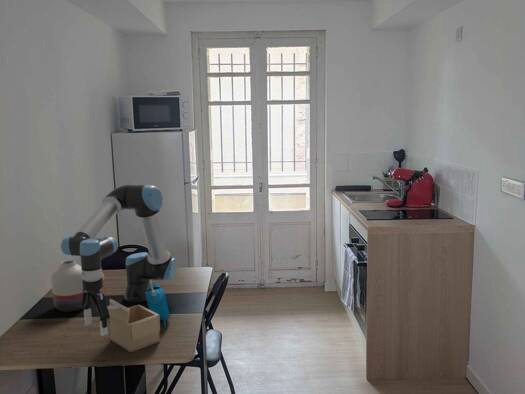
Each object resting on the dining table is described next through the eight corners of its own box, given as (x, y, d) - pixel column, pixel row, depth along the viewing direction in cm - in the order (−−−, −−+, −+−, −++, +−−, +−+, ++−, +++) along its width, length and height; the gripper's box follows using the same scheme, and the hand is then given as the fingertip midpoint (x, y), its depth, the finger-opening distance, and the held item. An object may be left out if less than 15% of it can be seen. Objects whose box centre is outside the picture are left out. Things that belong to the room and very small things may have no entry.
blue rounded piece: (171, 327, 232) (169, 285, 228) (148, 330, 229) (145, 287, 225) (168, 313, 247) (166, 273, 244) (146, 315, 245) (144, 275, 241)
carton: (110, 339, 220) (108, 313, 218) (140, 329, 230) (138, 304, 228) (130, 353, 208) (129, 325, 206) (161, 341, 218) (160, 314, 216)
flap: (109, 313, 217) (86, 315, 210) (111, 297, 217) (88, 299, 210) (128, 324, 206) (104, 326, 199) (130, 307, 206) (106, 309, 199)
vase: (66, 300, 266) (62, 256, 262) (96, 302, 263) (92, 257, 259) (46, 313, 250) (42, 266, 246) (78, 315, 247) (74, 268, 243)
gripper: (69, 273, 208) (73, 323, 212) (98, 289, 190) (102, 342, 194) (87, 269, 213) (91, 317, 217) (116, 283, 195) (120, 336, 199)
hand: (96, 329), depth 205 cm, fingers open, 13 cm apart
